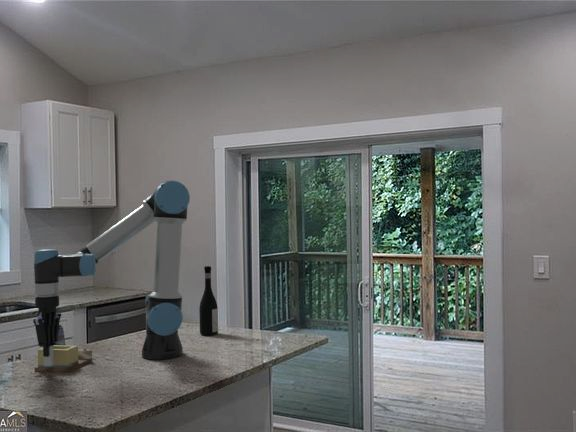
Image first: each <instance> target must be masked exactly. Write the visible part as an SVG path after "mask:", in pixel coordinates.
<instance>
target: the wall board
mask: <svg viewBox="0 0 576 432" xmlns="http://www.w3.org/2000/svg"><path fill="white" fill-rule="evenodd" d="M92 362H93V349H87V348H83V349H78V363H77V364H75V365H73V366H70V367H68V368H54V367H38V366H35V367H34V372H45V373H46V372H49V373H50V372H51V373H54V372H55V373H72V372H73V371H76V370H78V369H80V368H82V367H83V366H86V365H88V364H90V363H92Z"/></svg>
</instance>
